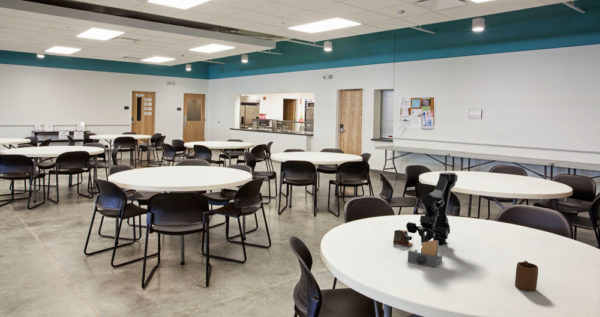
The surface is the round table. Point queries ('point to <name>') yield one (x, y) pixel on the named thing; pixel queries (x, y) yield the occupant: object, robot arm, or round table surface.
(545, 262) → the round table surface
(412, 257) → the grey cabinet body
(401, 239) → the electronic device
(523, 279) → the mug
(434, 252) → the side door
